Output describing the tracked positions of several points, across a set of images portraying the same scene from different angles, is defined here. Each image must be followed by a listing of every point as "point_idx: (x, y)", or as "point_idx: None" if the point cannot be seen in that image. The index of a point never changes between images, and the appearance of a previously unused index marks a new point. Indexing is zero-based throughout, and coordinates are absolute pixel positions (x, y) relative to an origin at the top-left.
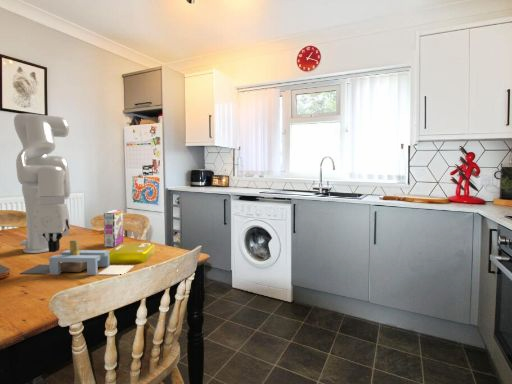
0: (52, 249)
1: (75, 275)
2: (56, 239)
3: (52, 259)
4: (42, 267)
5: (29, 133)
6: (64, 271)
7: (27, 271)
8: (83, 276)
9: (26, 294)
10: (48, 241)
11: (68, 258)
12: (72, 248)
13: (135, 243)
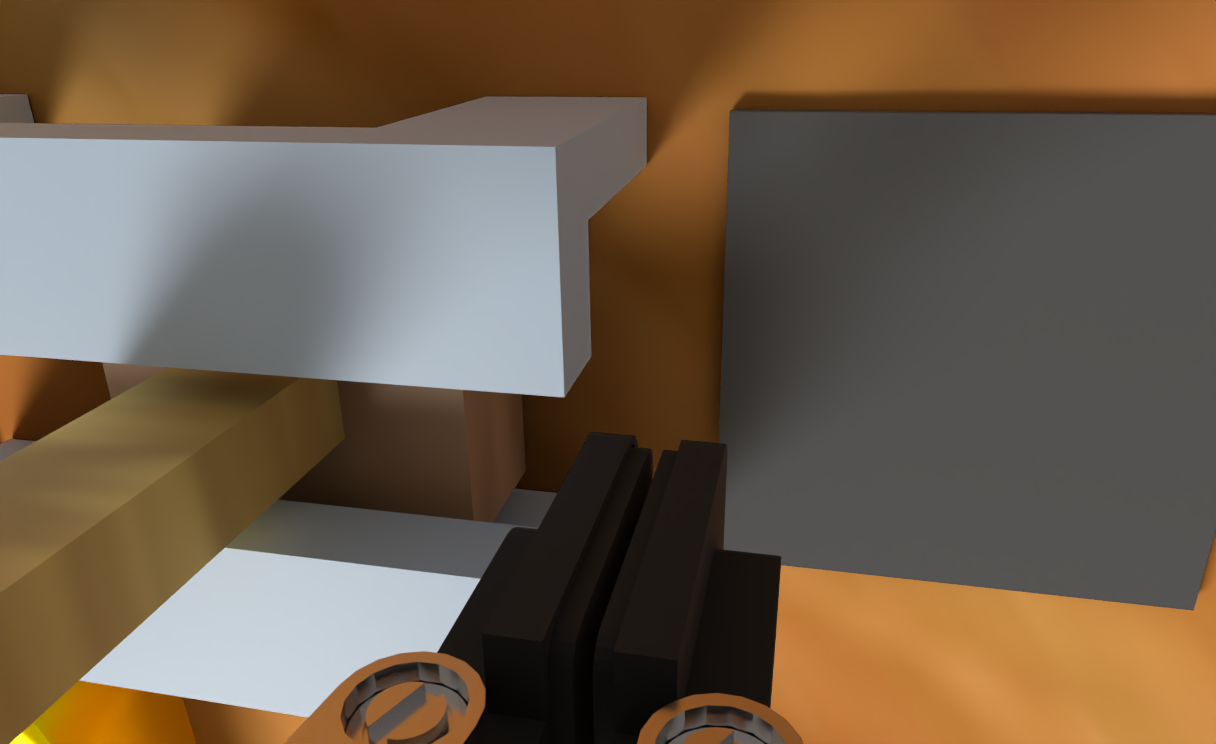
0: (595, 465)
1: (184, 66)
2: (335, 717)
3: (482, 140)
4: (1019, 440)
5: None
6: None
7: (1210, 222)
8: (33, 23)
9: None
10: (677, 661)
11: (82, 139)
12: (73, 482)
13: None
